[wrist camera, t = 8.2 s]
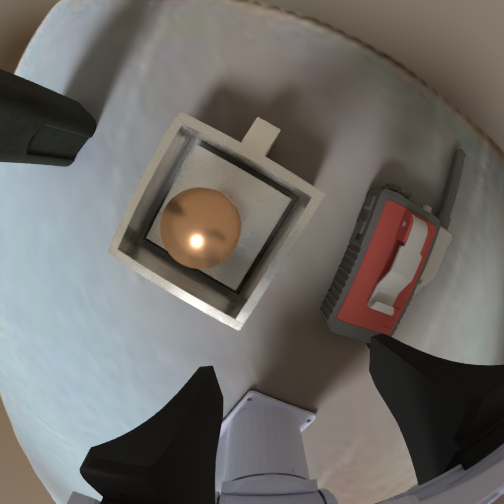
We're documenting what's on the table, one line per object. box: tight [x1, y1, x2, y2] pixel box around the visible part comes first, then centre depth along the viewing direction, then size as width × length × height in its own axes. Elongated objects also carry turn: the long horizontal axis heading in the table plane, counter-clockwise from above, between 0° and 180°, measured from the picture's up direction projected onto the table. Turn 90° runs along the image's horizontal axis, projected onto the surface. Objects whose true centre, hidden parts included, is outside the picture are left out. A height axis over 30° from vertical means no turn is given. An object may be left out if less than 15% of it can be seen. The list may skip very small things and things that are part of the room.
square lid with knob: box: [146, 145, 291, 291], centre depth 16 cm, size 8×8×7 cm
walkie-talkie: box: [320, 149, 465, 349], centre depth 19 cm, size 9×4×20 cm
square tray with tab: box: [107, 112, 325, 331], centre depth 18 cm, size 12×10×4 cm
